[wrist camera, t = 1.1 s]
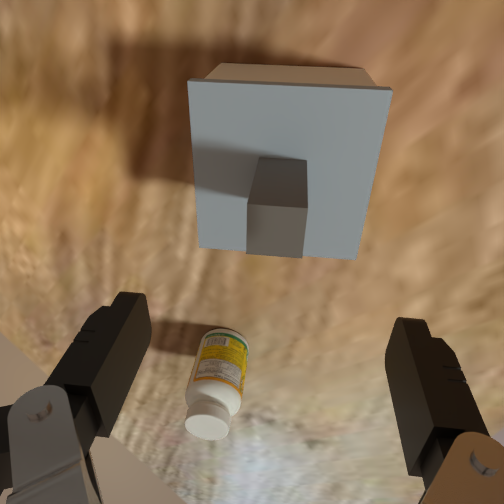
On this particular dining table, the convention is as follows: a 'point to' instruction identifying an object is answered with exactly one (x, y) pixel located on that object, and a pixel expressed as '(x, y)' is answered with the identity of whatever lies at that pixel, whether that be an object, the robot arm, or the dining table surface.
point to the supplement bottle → (216, 383)
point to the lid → (284, 164)
